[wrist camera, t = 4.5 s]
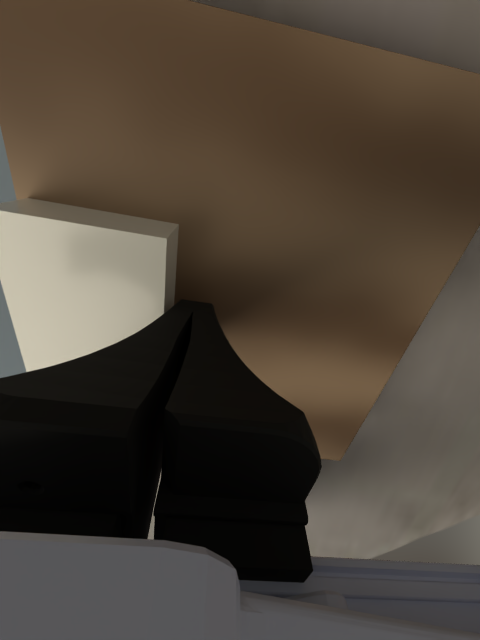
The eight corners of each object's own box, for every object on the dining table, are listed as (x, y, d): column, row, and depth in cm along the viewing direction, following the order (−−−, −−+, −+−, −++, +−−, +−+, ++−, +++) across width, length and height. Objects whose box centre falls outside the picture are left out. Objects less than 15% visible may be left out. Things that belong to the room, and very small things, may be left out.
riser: (326, 420, 20) (340, 460, 17) (93, 396, 18) (69, 436, 15) (478, 109, 11) (557, 93, 8) (38, 4, 9) (-41, -59, 6)
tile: (169, 373, 13) (160, 406, 11) (59, 360, 13) (32, 392, 11) (178, 224, 10) (166, 238, 8) (27, 197, 9) (-21, 207, 7)
